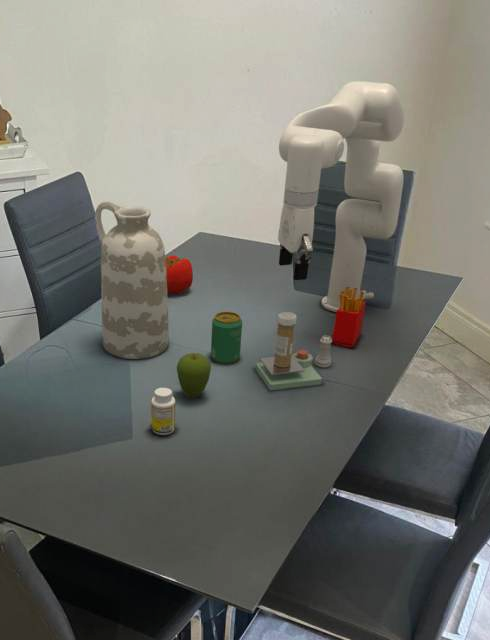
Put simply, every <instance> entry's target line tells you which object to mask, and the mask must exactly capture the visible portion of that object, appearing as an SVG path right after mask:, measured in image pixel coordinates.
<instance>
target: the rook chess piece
mask: <svg viewBox="0 0 490 640" xmlns="http://www.w3.org/2000/svg"><path fill="white" fill-rule="evenodd" d="M319 342H320V344H319V347H320V348H319V352H318V354H317V355H316V357H315V358H314V365H315V366H316V367H317V368H322V369H325V368H326V369H327V368H329V367H330V366H331V365H332V358H331V355H330V349H331V343H332V336H331V335H327V334H326V335H322V336H321V338H320V339H319Z"/></svg>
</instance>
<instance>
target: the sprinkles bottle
mask: <svg viewBox="0 0 490 640" xmlns="http://www.w3.org/2000/svg"><path fill="white" fill-rule="evenodd" d="M296 324H297V315H296V313H294V312H289V311H283V312H280V313H278V315H277V330H276V337H275V346H274V348H275V349H274V357H275V360H274V364H275V365H276V366H278V367H288V366H290V365H291V355H292V354H293V348H294V347H293V346H294V339H295V337H294V335H295V327H296Z"/></svg>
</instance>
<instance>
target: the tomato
mask: <svg viewBox="0 0 490 640" xmlns="http://www.w3.org/2000/svg"><path fill="white" fill-rule="evenodd" d="M165 259H166V276H167V294H169V295H179V294H180V295H181V294H183V293H184V292H185V291H186V290H189V288H190V287H191V286H192V284H193V279H194V274H193V273H194V272H193V266H192V263H191V261H190V259H188V258H185V257H182V258H181V257H178V256H177V255H172V254H171V255H169V256H168V257H166V256H165Z"/></svg>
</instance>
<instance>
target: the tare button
mask: <svg viewBox="0 0 490 640" xmlns="http://www.w3.org/2000/svg"><path fill="white" fill-rule="evenodd" d="M297 352H298V355H297V358H298V359H302V360H304V359H307V355H308V354H309V352H308V351H307V350H305V349H299V350H298V351H297Z"/></svg>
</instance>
